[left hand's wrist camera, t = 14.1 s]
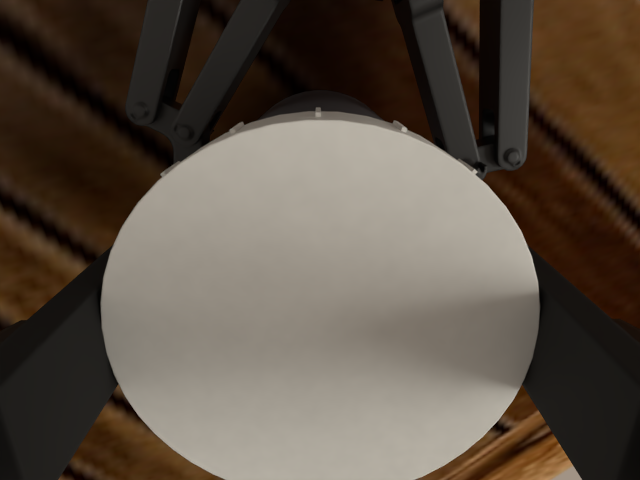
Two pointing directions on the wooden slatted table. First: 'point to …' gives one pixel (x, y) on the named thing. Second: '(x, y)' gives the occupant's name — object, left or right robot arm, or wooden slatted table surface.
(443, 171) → the lid
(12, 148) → the wooden slatted table surface
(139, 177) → the wooden slatted table surface
